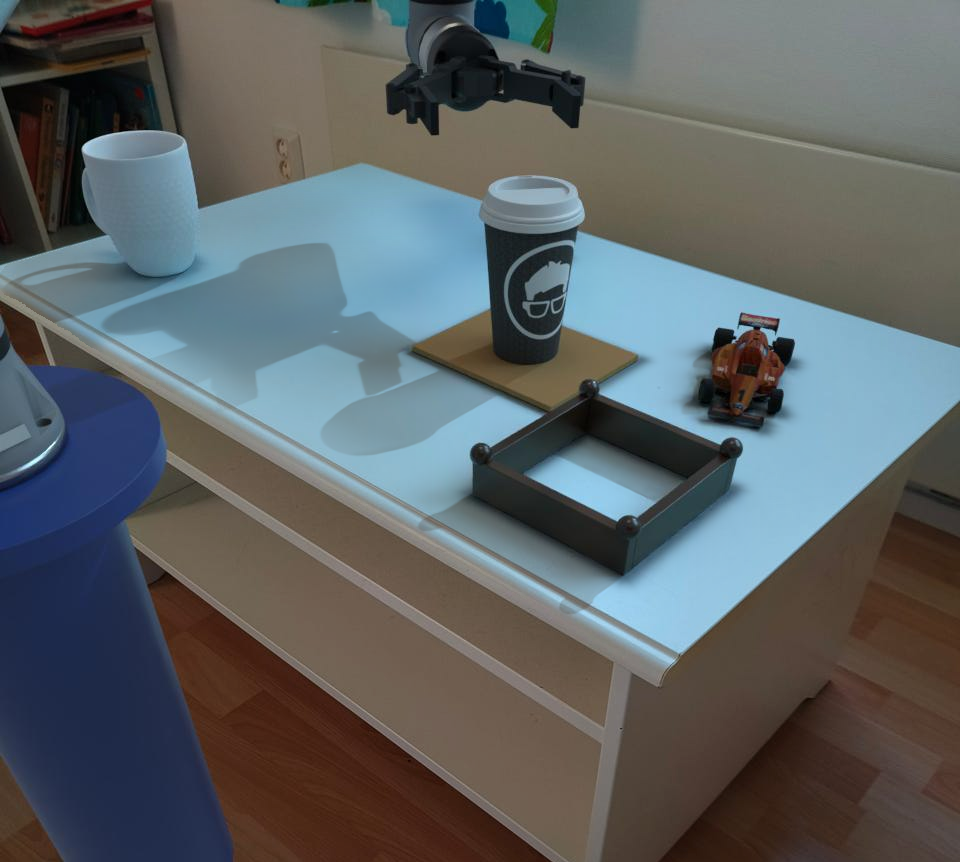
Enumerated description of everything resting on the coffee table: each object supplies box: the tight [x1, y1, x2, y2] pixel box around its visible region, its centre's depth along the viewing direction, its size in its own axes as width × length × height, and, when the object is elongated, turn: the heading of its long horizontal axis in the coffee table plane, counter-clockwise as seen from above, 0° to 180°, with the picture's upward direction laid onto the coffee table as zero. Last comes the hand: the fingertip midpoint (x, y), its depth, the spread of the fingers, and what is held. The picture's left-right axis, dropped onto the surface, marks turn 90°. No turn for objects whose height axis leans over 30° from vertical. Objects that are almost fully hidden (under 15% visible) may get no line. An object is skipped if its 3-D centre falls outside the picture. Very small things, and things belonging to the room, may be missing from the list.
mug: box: [81, 129, 200, 278], centre depth 101 cm, size 15×11×13 cm
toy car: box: [697, 312, 796, 428], centre depth 84 cm, size 8×16×4 cm, turn 162°
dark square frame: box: [469, 379, 744, 576], centre depth 71 cm, size 16×16×5 cm
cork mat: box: [411, 308, 639, 413], centre depth 89 cm, size 18×14×1 cm
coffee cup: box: [478, 174, 586, 365], centre depth 84 cm, size 10×10×15 cm
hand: (506, 115), depth 83 cm, fingers open, 13 cm apart
